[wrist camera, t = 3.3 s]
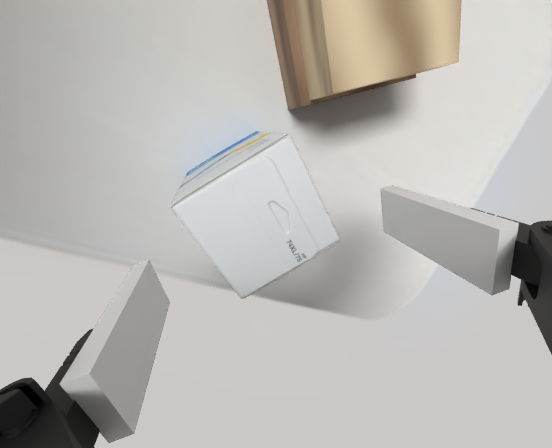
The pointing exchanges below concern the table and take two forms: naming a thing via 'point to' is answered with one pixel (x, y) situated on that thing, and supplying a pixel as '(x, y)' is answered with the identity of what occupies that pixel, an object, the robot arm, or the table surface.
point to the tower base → (299, 57)
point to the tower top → (374, 40)
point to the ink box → (255, 211)
